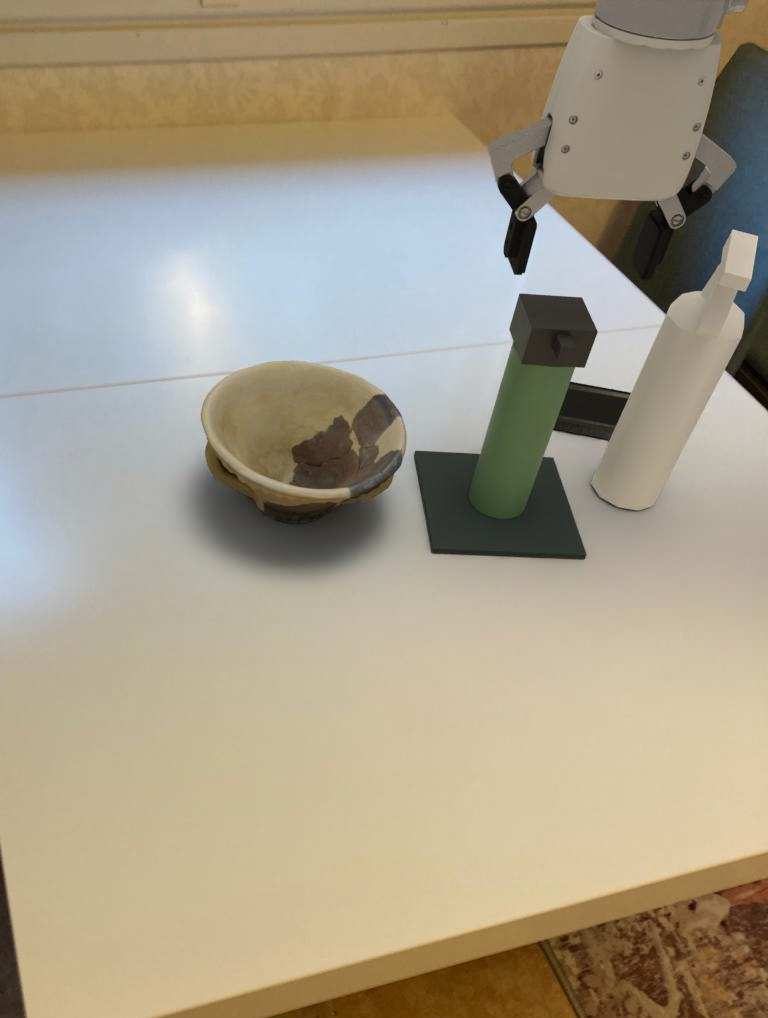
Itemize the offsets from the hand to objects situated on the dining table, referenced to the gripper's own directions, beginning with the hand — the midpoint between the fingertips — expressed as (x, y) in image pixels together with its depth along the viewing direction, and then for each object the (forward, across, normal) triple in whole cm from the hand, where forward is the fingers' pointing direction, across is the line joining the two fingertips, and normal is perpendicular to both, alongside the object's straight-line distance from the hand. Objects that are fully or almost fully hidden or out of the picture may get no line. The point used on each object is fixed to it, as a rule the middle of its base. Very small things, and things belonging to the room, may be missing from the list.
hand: (577, 269), depth 70 cm
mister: (+23, +1, 0) cm, 23 cm away
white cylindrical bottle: (+24, -13, -4) cm, 27 cm away
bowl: (+23, +20, +1) cm, 31 cm away
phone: (+24, -13, -15) cm, 31 cm away
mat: (+23, +1, 0) cm, 23 cm away
